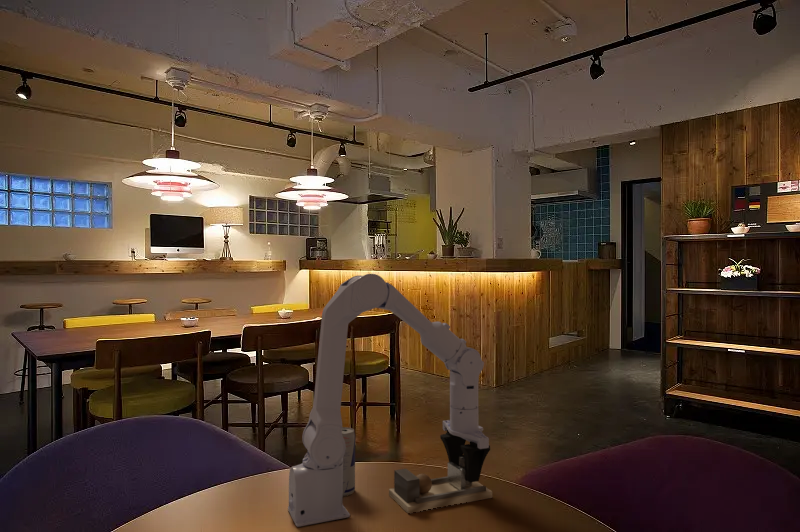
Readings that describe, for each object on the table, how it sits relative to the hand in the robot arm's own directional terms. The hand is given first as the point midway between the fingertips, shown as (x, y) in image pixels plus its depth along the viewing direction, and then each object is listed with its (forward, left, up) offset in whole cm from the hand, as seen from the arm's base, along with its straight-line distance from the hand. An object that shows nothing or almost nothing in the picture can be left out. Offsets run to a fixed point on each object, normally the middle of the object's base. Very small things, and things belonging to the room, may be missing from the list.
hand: (464, 475), depth 98 cm
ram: (-1, 0, -2) cm, 2 cm away
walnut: (-9, 0, -2) cm, 10 cm away
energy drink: (-22, +10, -3) cm, 25 cm away
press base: (-5, 0, -3) cm, 6 cm away
